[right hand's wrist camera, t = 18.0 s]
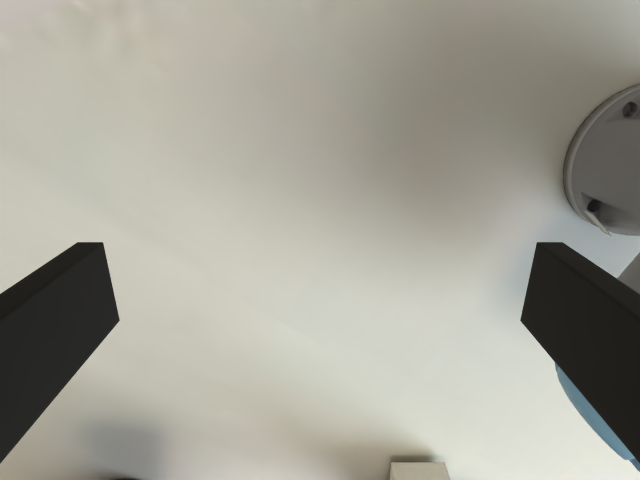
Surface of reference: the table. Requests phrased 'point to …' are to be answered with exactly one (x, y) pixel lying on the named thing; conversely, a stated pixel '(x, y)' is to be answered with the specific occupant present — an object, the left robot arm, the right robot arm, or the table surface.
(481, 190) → the table surface
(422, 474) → the block
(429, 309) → the table surface
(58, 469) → the table surface
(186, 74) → the table surface
